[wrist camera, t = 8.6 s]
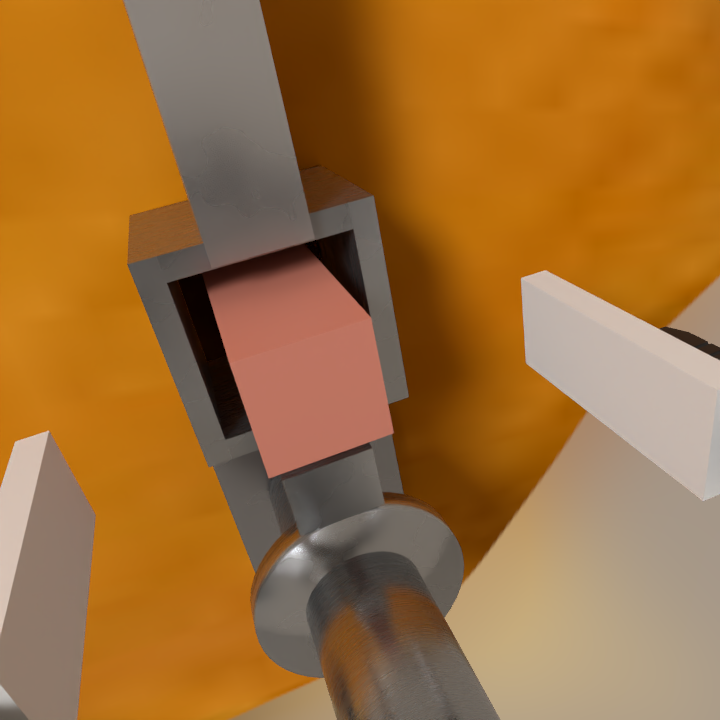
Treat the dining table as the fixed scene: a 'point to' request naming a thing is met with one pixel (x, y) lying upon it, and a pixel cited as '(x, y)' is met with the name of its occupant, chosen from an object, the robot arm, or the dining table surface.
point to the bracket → (238, 200)
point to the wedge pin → (299, 357)
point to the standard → (355, 584)
